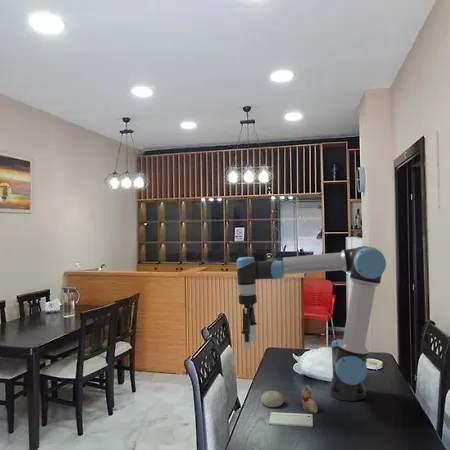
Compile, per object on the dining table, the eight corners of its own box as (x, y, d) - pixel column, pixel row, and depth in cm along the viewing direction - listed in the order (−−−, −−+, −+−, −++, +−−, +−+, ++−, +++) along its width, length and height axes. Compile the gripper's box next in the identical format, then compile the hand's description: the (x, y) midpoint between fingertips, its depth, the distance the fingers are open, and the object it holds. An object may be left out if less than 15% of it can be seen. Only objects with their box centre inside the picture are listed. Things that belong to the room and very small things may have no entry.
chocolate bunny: (314, 404, 170) (313, 380, 170) (319, 413, 162) (318, 387, 162) (300, 405, 170) (299, 380, 170) (305, 413, 162) (304, 388, 162)
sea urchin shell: (285, 404, 167) (270, 389, 168) (271, 417, 168) (257, 403, 169) (286, 395, 176) (272, 381, 177) (273, 408, 177) (260, 394, 178)
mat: (312, 418, 158) (312, 416, 158) (312, 426, 151) (312, 425, 151) (270, 416, 161) (270, 414, 161) (268, 424, 154) (268, 422, 154)
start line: (312, 415, 160) (312, 414, 160) (312, 416, 159) (312, 416, 159) (271, 413, 164) (271, 412, 164) (270, 414, 162) (270, 413, 162)
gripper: (243, 290, 187) (246, 337, 186) (233, 299, 162) (236, 353, 162) (259, 289, 185) (262, 337, 185) (252, 298, 161) (255, 353, 160)
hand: (250, 345), depth 173 cm, fingers open, 13 cm apart
